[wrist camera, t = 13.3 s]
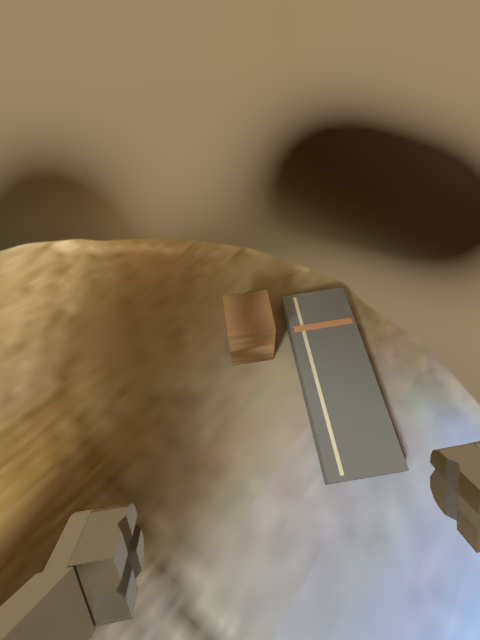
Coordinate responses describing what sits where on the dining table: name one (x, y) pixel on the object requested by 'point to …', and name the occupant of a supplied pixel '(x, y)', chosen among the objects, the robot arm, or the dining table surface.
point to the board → (340, 389)
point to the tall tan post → (250, 326)
